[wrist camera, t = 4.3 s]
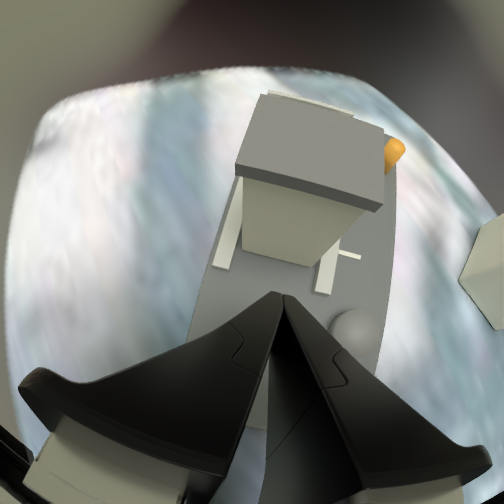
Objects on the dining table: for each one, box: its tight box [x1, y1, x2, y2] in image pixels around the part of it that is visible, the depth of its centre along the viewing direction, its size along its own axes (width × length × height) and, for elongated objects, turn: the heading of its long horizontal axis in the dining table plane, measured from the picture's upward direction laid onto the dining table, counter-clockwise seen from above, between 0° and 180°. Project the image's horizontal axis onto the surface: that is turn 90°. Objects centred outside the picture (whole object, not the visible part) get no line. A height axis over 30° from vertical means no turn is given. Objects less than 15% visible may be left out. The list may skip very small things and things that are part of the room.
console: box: [186, 90, 405, 430], centre depth 17 cm, size 24×12×4 cm, turn 166°
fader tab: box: [235, 94, 385, 267], centre depth 13 cm, size 3×5×10 cm
